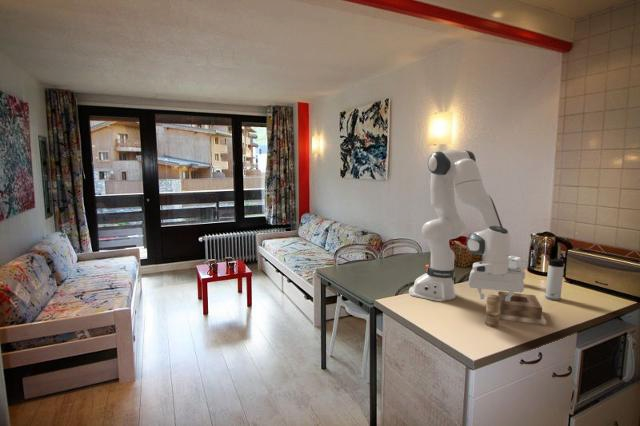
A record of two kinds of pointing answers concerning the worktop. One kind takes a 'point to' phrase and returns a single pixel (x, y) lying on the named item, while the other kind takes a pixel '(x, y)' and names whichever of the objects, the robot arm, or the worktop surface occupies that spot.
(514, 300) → the socket board
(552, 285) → the travel mug
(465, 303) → the worktop surface
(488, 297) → the oak peg
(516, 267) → the syrup box
